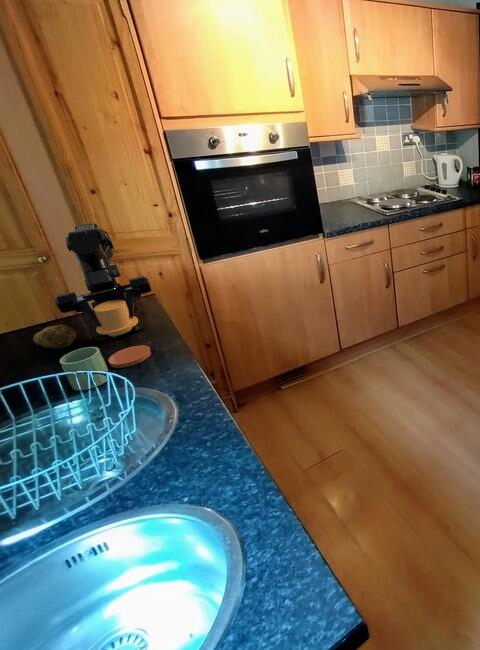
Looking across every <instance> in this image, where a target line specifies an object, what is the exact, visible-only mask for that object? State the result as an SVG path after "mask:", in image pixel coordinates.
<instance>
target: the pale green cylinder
mask: <svg viewBox="0 0 480 650" xmlns="http://www.w3.org/2000/svg"><path fill="white" fill-rule="evenodd" d="M59 364H60V366H61V368H62V370H63V372H64V373H65V372H77V371H109V372H110V370H109V368H108V366H107V364H106V362H105V359H104V356H103V354H102V352H101V349H100V348H99V347H97V346H87V347H81V348H78V349H74V350H72V351H70V352H68V353H66V354H64V355H63V356H61V358H60V359H59ZM65 376H66V378H67V380H68V383H69V384H70V386H71V388H72V389H73V390H74V391H78V392H81V391H88V390H89V389H88V375H87V374H84V373H81V374H77V378H78V381H79V383H80V385H81V391H79V388H78V386H77V383H76V375H75V374H69V375H66V374H65ZM93 380H94V382H95V383H96V384H97V387H100V386H102V385H103V384H105V383H106V382H108V380H107V379H106V376H104V375H101V374H94V375H93ZM95 388H96V387H95V385H94V384H93V385H91V389H90V390H92V389H95Z"/></svg>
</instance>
